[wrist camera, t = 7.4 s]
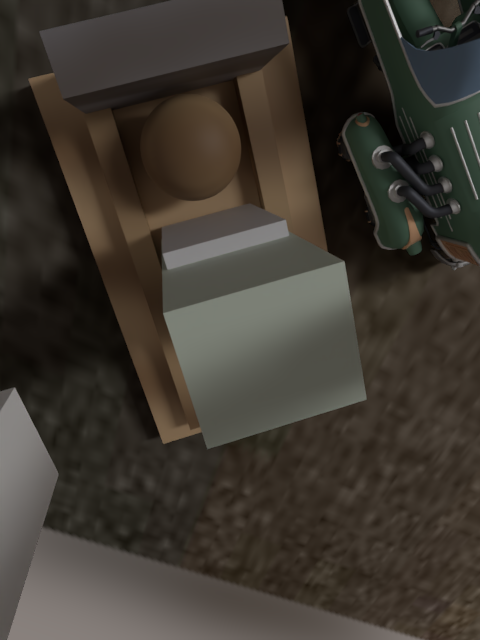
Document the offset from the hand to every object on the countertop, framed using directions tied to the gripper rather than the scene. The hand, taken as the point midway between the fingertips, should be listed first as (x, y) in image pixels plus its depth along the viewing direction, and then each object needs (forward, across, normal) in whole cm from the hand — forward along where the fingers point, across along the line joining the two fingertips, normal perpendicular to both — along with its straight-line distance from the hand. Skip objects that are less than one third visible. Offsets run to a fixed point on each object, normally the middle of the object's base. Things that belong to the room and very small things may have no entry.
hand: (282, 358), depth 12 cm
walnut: (+13, 0, +5) cm, 14 cm away
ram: (+13, 0, 0) cm, 13 cm away
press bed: (+14, 0, 0) cm, 14 cm away
